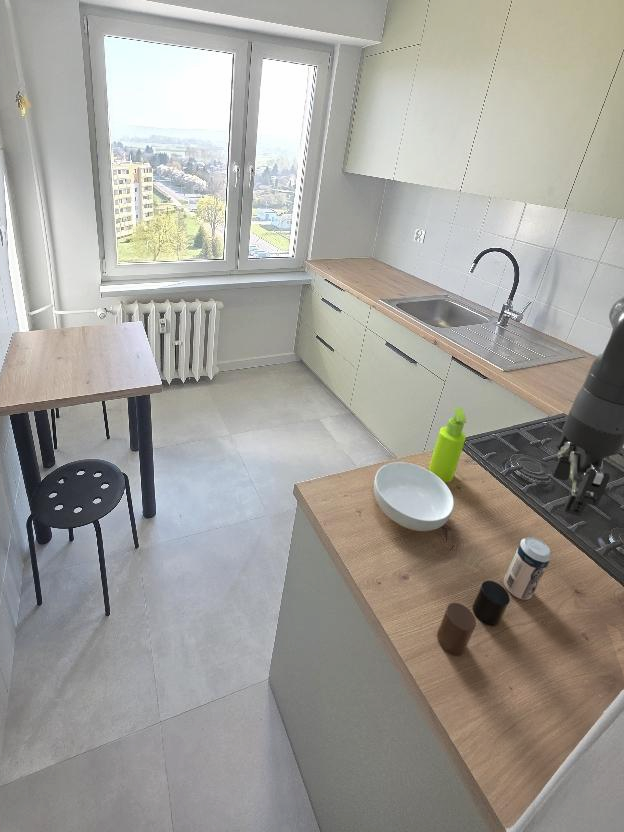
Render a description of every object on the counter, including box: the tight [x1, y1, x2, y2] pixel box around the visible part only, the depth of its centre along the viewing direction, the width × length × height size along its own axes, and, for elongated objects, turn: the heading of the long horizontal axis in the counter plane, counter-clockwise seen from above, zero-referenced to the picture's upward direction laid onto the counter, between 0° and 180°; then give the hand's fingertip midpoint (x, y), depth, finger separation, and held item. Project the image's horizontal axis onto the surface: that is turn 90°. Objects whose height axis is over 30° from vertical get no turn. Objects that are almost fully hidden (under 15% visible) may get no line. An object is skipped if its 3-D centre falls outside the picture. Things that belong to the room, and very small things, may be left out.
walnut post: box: [436, 602, 477, 657], centre depth 70 cm, size 4×4×7 cm
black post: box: [472, 580, 511, 627], centre depth 75 cm, size 4×4×6 cm
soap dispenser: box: [427, 407, 467, 483], centre depth 104 cm, size 6×7×20 cm
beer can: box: [503, 536, 552, 600], centre depth 78 cm, size 5×5×12 cm
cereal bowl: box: [373, 461, 455, 532], centre depth 95 cm, size 17×17×7 cm
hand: (565, 494), depth 72 cm, fingers open, 8 cm apart
